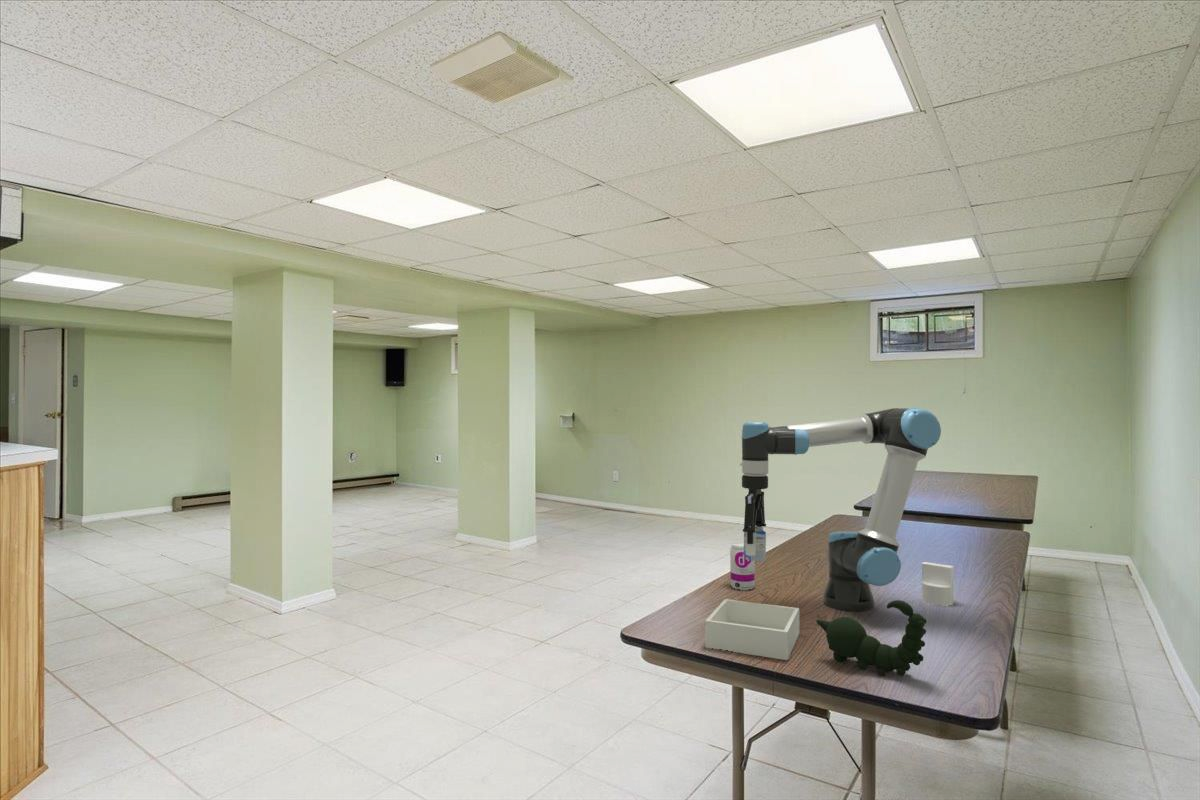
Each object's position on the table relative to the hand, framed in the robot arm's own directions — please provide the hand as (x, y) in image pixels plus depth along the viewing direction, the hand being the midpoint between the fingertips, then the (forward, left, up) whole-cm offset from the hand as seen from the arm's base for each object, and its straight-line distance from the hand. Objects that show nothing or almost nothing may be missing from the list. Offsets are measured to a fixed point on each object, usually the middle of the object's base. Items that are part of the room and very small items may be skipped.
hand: (754, 551), depth 189 cm
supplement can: (+11, -35, -21) cm, 43 cm away
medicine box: (0, 0, -2) cm, 2 cm away
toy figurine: (-32, +22, -21) cm, 44 cm away
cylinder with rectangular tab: (-50, -44, -21) cm, 70 cm away
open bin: (-3, +14, -21) cm, 25 cm away
